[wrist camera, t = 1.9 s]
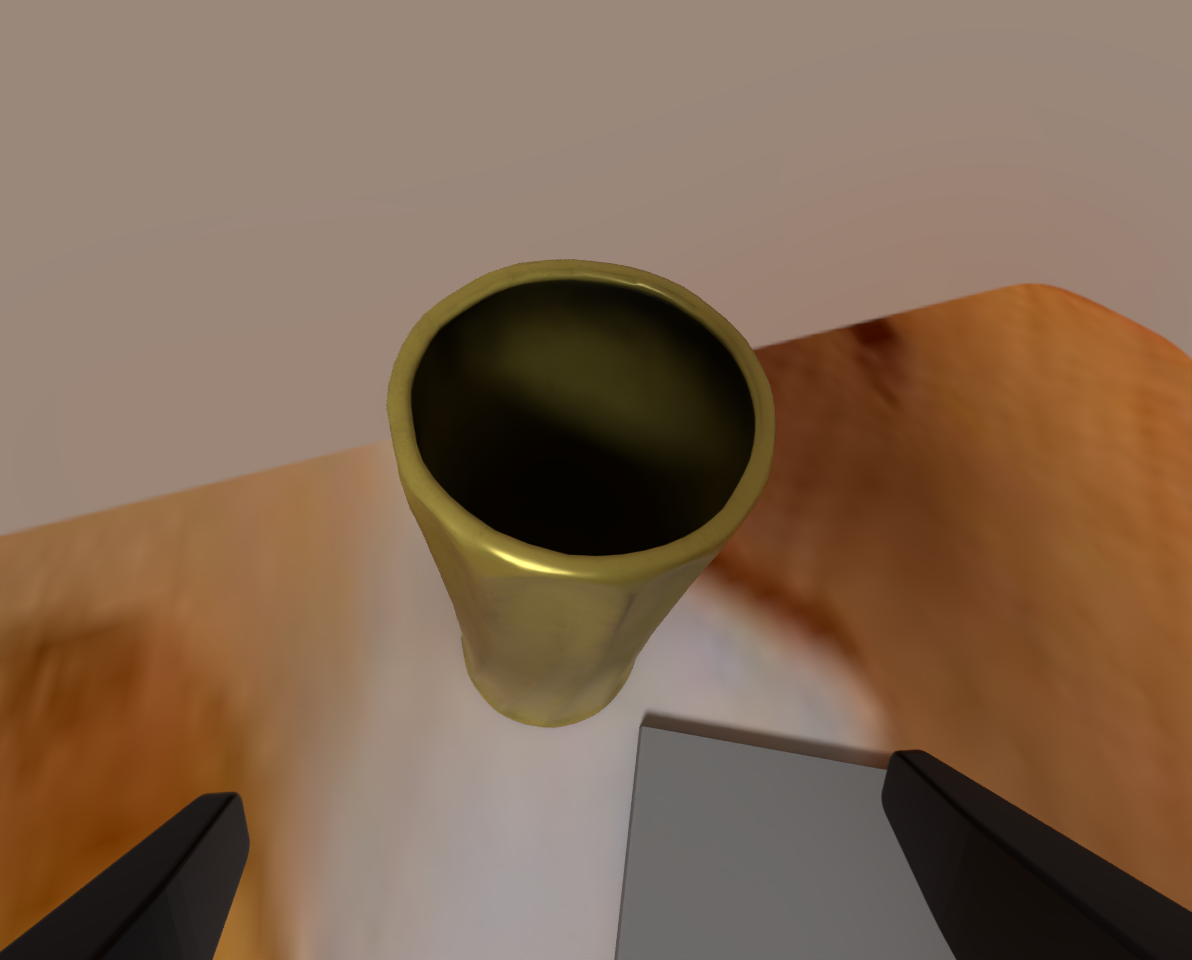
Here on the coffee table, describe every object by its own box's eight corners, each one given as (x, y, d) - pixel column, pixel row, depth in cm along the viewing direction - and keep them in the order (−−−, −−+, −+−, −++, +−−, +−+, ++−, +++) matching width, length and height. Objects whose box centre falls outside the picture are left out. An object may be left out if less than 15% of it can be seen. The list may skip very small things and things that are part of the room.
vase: (451, 572, 21) (334, 252, 8) (610, 539, 22) (721, 220, 9) (478, 750, 18) (364, 685, 5) (657, 701, 19) (897, 557, 7)
